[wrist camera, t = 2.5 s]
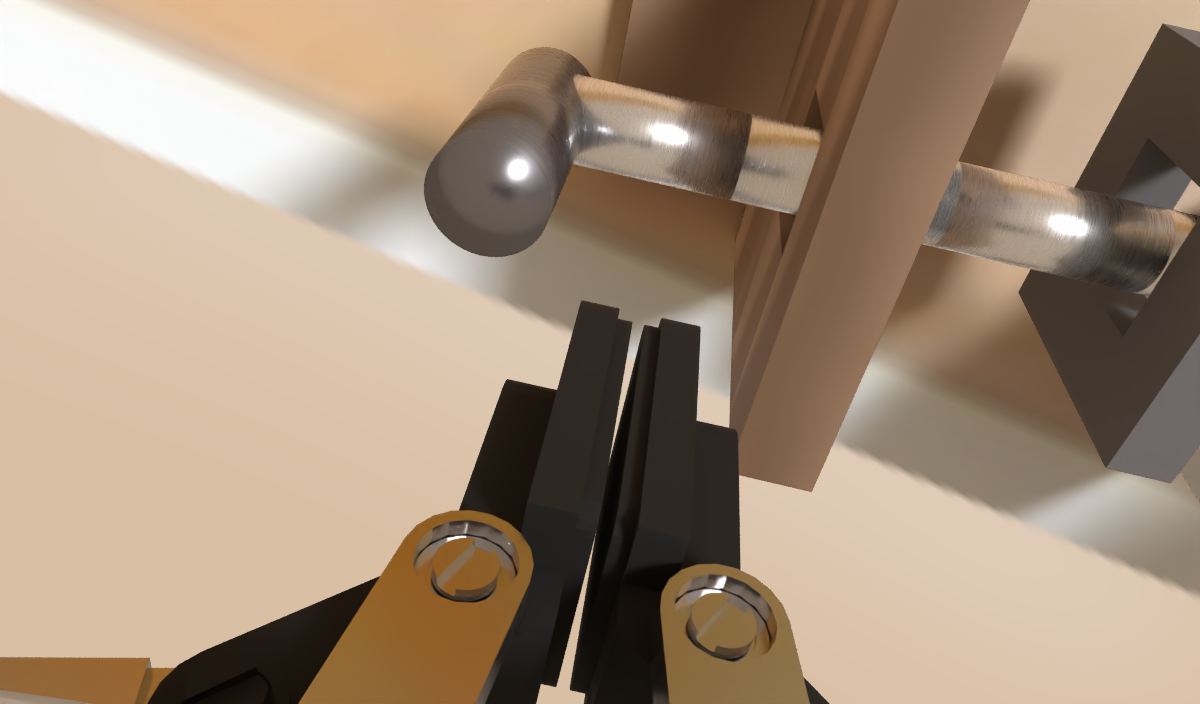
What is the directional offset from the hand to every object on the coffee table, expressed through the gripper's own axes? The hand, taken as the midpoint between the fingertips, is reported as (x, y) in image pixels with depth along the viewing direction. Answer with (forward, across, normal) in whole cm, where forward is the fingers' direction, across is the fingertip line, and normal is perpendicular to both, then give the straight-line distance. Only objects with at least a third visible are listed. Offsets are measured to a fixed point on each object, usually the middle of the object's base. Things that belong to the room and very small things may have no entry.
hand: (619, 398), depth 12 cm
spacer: (+14, -12, 0) cm, 19 cm away
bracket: (+18, -2, 0) cm, 18 cm away
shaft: (+11, -6, 0) cm, 12 cm away
